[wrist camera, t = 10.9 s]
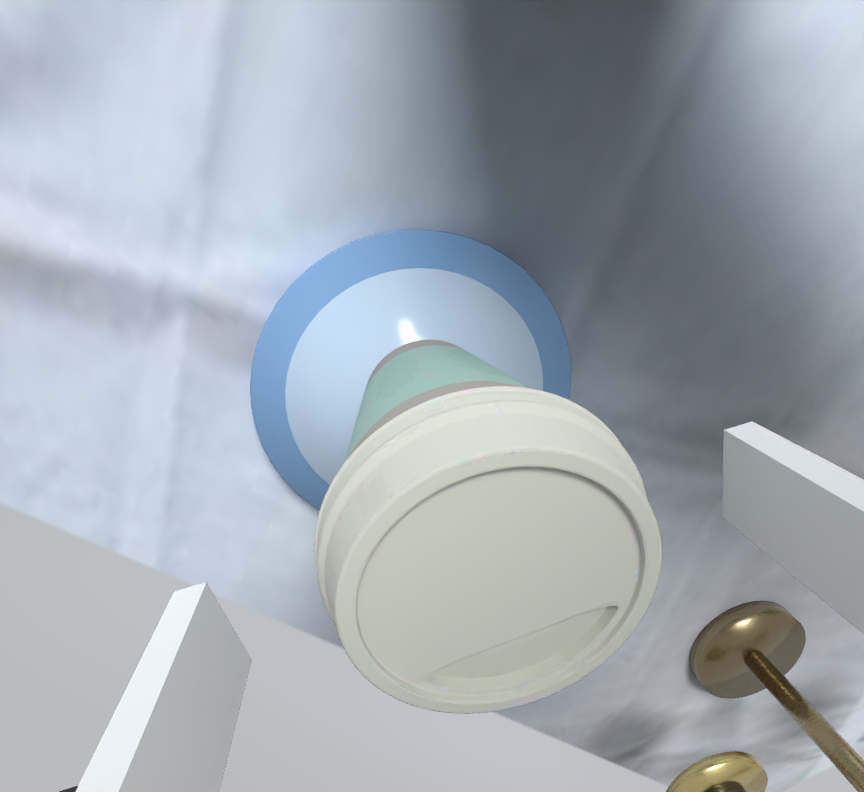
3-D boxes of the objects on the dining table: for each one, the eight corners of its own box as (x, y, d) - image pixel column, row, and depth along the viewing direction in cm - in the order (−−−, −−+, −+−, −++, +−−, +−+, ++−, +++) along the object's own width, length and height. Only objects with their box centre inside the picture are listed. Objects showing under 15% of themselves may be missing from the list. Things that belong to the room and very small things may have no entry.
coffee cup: (319, 467, 21) (279, 730, 10) (353, 288, 19) (347, 383, 8) (487, 489, 23) (605, 732, 12) (539, 330, 21) (750, 455, 10)
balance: (598, 651, 31) (845, 1089, 15) (880, 559, 32) (1376, 878, 17) (607, 723, 34) (822, 1149, 18) (865, 636, 35) (1271, 967, 20)
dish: (198, 280, 19) (189, 284, 18) (539, 190, 20) (550, 189, 19) (317, 554, 25) (315, 570, 23) (577, 475, 25) (587, 487, 24)
